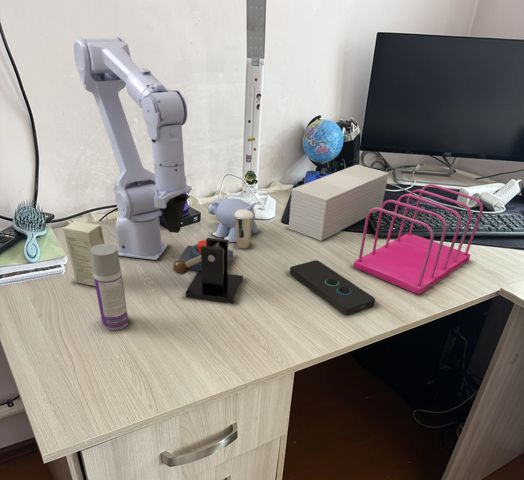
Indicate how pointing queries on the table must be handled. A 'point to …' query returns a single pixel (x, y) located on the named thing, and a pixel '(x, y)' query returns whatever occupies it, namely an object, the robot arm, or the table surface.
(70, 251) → the cosmetic box
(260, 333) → the table surface
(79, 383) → the table surface
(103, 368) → the table surface
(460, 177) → the table surface
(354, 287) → the smart home device
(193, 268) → the button box
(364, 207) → the stack of papers
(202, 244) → the button
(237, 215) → the milkshake
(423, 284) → the file sorter
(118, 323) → the container
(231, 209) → the hippopotamus toy
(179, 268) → the lever
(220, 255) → the switch bracket
